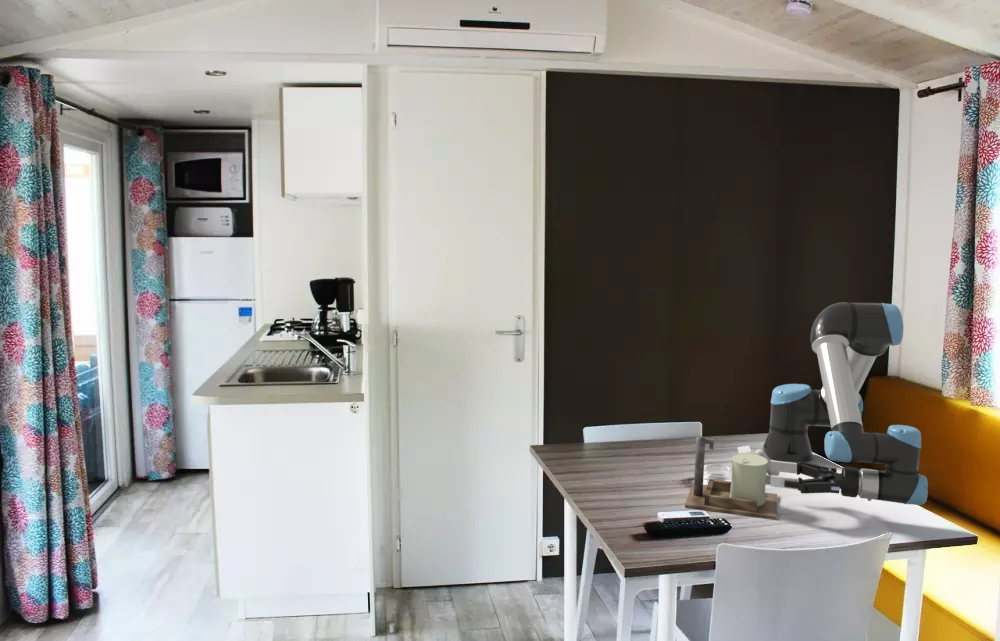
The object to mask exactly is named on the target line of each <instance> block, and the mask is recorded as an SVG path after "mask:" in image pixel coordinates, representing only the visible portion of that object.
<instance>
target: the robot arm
mask: <svg viewBox="0 0 1000 641" xmlns="http://www.w3.org/2000/svg"><path fill="white" fill-rule="evenodd" d="M903 338H904V320H903V315H902V313H901V310H900V308H899V307H898V306H897V305H896V304H892V303H884V302H843V301H841V302H837V303H833V304H830V305H829V306H826V307H825V308H824V309H823V310H822V311H821V312H820V313H819V314H818V315H817V317H816V318H815V320H814V322H813V324H812V326H811V330H810V344H811V345H810V346H811V349H812V351H813V352H814V353H815V354H816V355H817V359H818V367H819V371H820V377H821V381H822V387H821V389H812V388H811V386H810V385H809V384H805V383H786V384H782V385H778V386H776V387H775V388H774V389H772V393H771V399H770V420H769V430H768V431H769V432H768V433H767V437H766V439H765V442H764V443H763V445H762V450H763V451H764V452H765V453H766V455H767V456H768V457H769V459H770V460H771V461H772V463H771V471H777V472H780V473H787V474H788V473H789V474H795V475H796V476H798V475H804V476H806V477H810V478H805V479H803V478H802V477H798V478H796V477H788V476H780V475H778V476H773V475H771V478H770V481H769V482H770V484H769V486H770V487H773V488H782V489H790V490H797V491H799V492H800V494H841V496H843V497H848V498H857V497H859V498H860V499H865V500H867V501H868V502H872V500H875V501H883V502H891V503H898V504H903V505H915V506H916V505H919V506H921V505H924V504H925V503H926V502H927V500H928V499H927V498H928V496H929V495H928V491H929V490H928V487H929V485H928V483H929V482H928V478H927V477H926V476H925V475H922V474H920V471H919V469H920V459H921V458H920V457H921V451H922V433H921V431H920V430H919V429H918V428H916V427H914V426H910V425H905V424H904V425H903V424H891V425H889V426H888V427H887V431H886V433H880V432H865V430H864V425H863V422H862V415H863V411H864V401H863V398H862V396H861V394H860V393H859V392H860V390H861V388H862V386H863V385H864V382H865V381H866V378H867V377H868V375H869V372H870V370H871V368H872V367H873V364H874V363H875V360H876V358H877V357H879V356H881V355H883V354H884V353H886V351H887V350H888V348H889V346H892V347H895V346H899V345H900V344H901V343H902V341H903ZM809 426H810V427H829V428H830V431H828V432H826V434H825V437H824V439H823V440H824V442H823V443H824V447H823V448H824V453H825V455H826V458H827V459H828V460H830V461H834V462H839V463H841V462H842V463H869V464H871V463H872V464H884V468H885V470H881V469H880V470H879V469H878V470H877V469H872V468H860V469H859V468H857V467H849V466H843V467H842V469H841V473H839V472H838V470H837V468H836V467H829V466H825V465H820V464H814V463H811V462H809V461H811V460H812V459H813V450H812V446H811V443H810V439H809V435H808V431H809Z"/></svg>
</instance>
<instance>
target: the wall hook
mask: <svg viewBox="0 0 1000 641" xmlns="http://www.w3.org/2000/svg"><path fill="white" fill-rule="evenodd" d="M737 452H738V453H737V454H740V453H750V454H753V453H752V450H751V447H750V445H742V446H737ZM754 452H755V453H754V454H756V455H759V456H762V457H764V458H766V459H767V461H768V463H767V473H766V474H767V475H768V476H769V478H770V479H771V475H773V476H780V475H779V474H780V473H781V472H777V471H771V463H772V461H773V460H772V459H771V458H769V457H768V456H767V455H766V453H765V452H764V451H763V449H756V451H754Z"/></svg>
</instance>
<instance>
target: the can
mask: <svg viewBox="0 0 1000 641" xmlns="http://www.w3.org/2000/svg"><path fill="white" fill-rule="evenodd" d="M767 463H768V461H767V459H766V458H764V457H762V456H759V455H756V454H755V453H752V454H750V453H740V454H739V453H736V454H733V456H732V458H731V477H730V482H731V489H730V496H729V497H732V498H739V499H747V500H755V501H757V506H761V505H763V504H764V503H765V493H766V485H767V474H768V473H767Z"/></svg>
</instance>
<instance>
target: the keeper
mask: <svg viewBox="0 0 1000 641" xmlns="http://www.w3.org/2000/svg"><path fill="white" fill-rule="evenodd" d="M714 442H715V440H714V438H708V437H704V436H703V437H702V436H696V438H695V458H694V459H695V460H694V461H695V462H694V480H693V481H694V483H691V487H690V489H689V493H688V495H687V497H686V501H685V503H684V508H687V509H693V510H702V511H708V512H717V513H722V514H723V513H725V514H731V515H732V514H733V515H740V516H746V517H753V518H754V517H755V518H760V517H761V519H768V520H778V493H772V492H765V503H764V504H763V505H761V506H757V501H755V500H747V499H739V498H732V497H729V496H730V489H731V481H730V480H719V479H713V478H709V479H708V483H707V484H704V474H705V473H704V472H705V453H706V445H709V447H708V449H709V450H714V448H715V447H714Z"/></svg>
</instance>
